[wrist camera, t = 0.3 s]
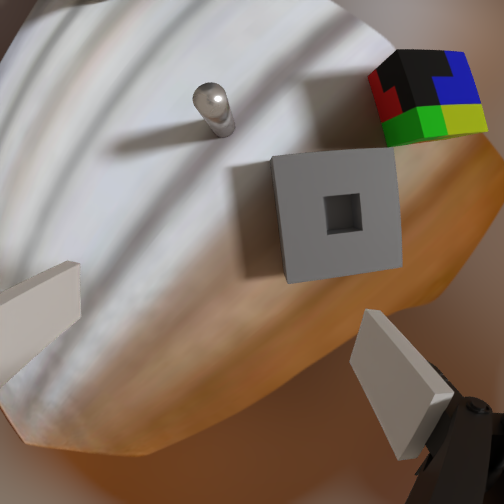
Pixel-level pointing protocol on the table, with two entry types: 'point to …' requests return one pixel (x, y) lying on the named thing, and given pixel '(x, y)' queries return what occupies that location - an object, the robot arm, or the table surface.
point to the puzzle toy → (426, 97)
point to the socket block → (337, 212)
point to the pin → (214, 108)
